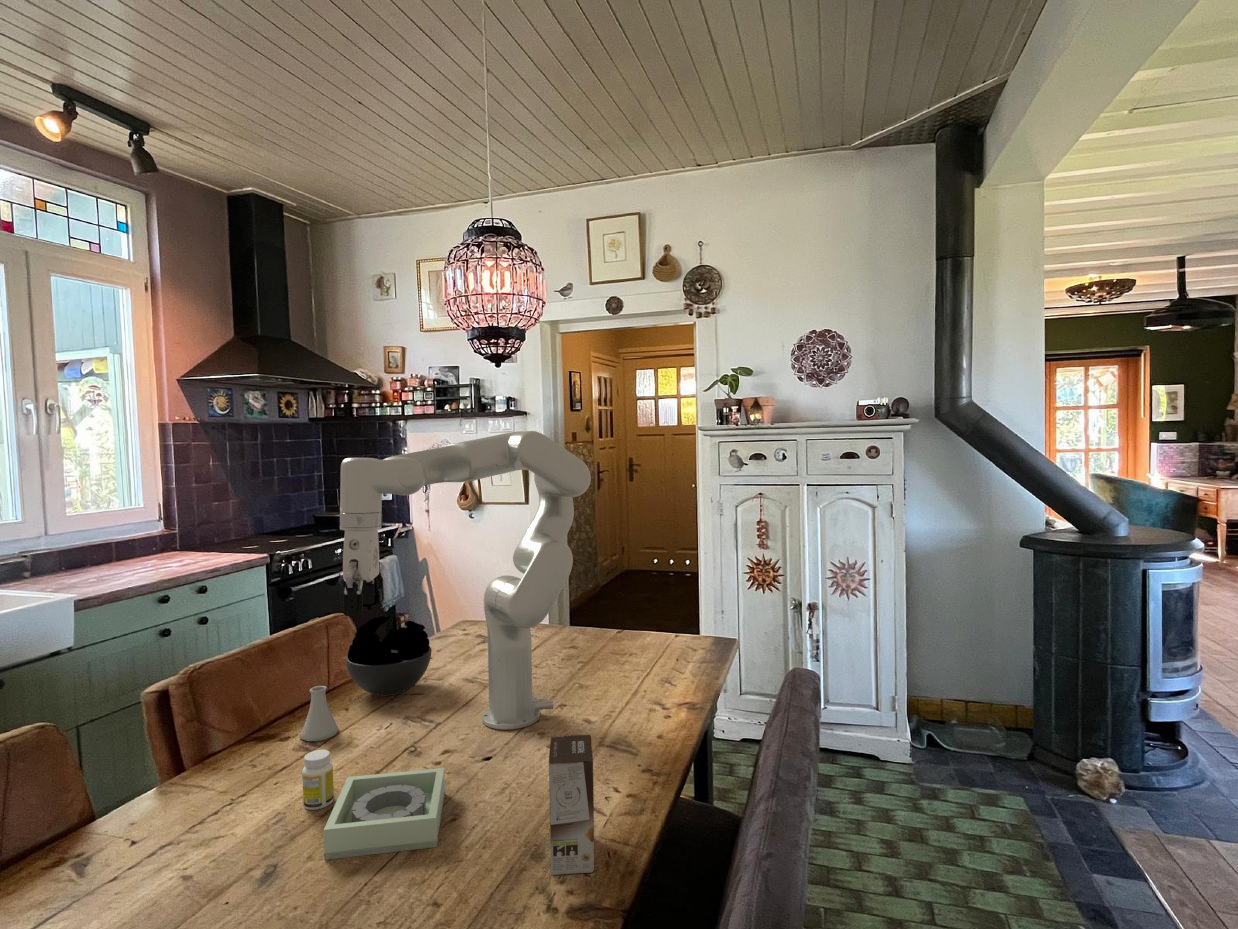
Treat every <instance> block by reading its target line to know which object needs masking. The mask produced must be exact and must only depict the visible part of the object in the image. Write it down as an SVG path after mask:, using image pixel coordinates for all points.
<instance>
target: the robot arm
mask: <svg viewBox="0 0 1238 929" xmlns="http://www.w3.org/2000/svg"><path fill="white" fill-rule="evenodd" d="M515 471H530V472H531V473H533V474H534V475H533V478H534V480H533V481H534V483H535V484H534V485H535V486H536V489H537V492H538V493H537V494H538V498H539V499H538V508H537V511H536V513H535V515H534V517H533V519H532V521H531V522H530V523H529V526H528V527H527V529H526V531H525V533H524V534H523V535H522V538H521V539H520V541H519V542H518V544H517V545H516V547H515V550H514V552H513V556H512V562H513V564H514V565H513V566H514V567H515V568H516V569H517V571H519V572H520V573H522V574H523V575H522V576H521V578H520V577H517V576H514V575H500V576H497V577H496V578H494V579H492V580H491V581H490V582H489V583H488V584H487V587H486V588H485V590H484V595H483V611H484V616H485V622H486V631H487V662H488V663H487V664H488V666H487V668H488V670H487V672H488V708H487V709H486V710H485V711H484V712H483V713H482V715H481V720H482V723H483V724H484V725H485V726H487V727H488V728H491V729H496V730H505V731H506V730H507V731H508V730H517V729H522V728H526V727H528V726H530V725H531V726H532V725H533V724H534V723H536V722H537V721H538V720H539V719H540V717H541V713H540V712H541V711H540V710H554V700H553V699H551V700H550V699H549V700H548V697H541V698H540V697H539V698H537V697H535V695H534V692H533V669H532V668H533V665H532V664H533V661H532V660H533V658H532V657H533V655H532V652H533V651H532V647H533V645H532V642H533V640H532V631H531V629H533V628H535V627H537V626H538V625H540V624H541V622H543V621H544V620H545V618H546V617H547V616H548V614H549V613H550V611H551V610H552V607H553V606H554V604H555V602H556V600H557V599H558V598H559V595H560V593H561V591H562V590H563V588H564V586H565V585H566V583H567V581H568V579H569V577H570V575H571V571H572V569H573V563H574V558H573V553H572V550H571V548H570V546H569V545H568V544H567V542H565V539H566V537H567V535H568V534H569V531H570V529H571V526H572V525H573V522H574V517H575V507H574V506H575V505H574V500H573V498H577V497H579V496H581V495H584V493H585V492H587V490H588V489H589V487H590V485H591V482H592V478H591V477H592V475H591V472H590V468H589V467H588V466H587V464H586V463H585V462H584V461H583V460H582V459H581V458H579V457H578V456H576V455H575V454H574V453H572V452H570V451H569V450H567V449H566V448H564V447H563V446H562V445H560V444H559V443H558V442H556V441H554V440H553V439H551V438H550V437H548V436H547V435H545V434H543V433H541V432H538V431H537V430H525V431H524V430H521V431H510V432H506V433H500V434H496V435H490V436H485V437H482V438H476V439H472V440H465V441H460V442H456V443H450V444H447V445H443V446H440V447H434V448H429V449H424V450H418V451H413V452H412V451H411V452H408V453H403V454H397V455H393V456H389V457H386V458H384V459H378V458H373V457H347V458H344V459H343V460H342V462H341V464H340V496H339V497H340V499H339V504H340V505H339V530H340V531H344V537H343V554H342V577H343V578H342V579H343V581H344V582H345V584H344V591H343V593H344V595H343V598H344V600H343V616H346V617H353V616H354V617H359V616H362V615H363V613H364V612H363V609H364V608H363V607H364V606H363V605H373V604H374V603H375V578H376V577H378V575H379V574H380V544H379V542H380V540H379V530H381V529H382V506H383V505H382V504H383V503H382V502H383V494H389V495H395V496H397V495H398V496H410V495H414V494H416V493H418V492H419V491H420V490H421V489H422V488H423V487H424V486H427V485H428V486H429V485H434V484H443V483H466V482H474V481H478V480H482V479H486V478H490V477H494V476H499V475H502V474H508V473H510V472H511V473H512V472H515Z"/></svg>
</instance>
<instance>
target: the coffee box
mask: <svg viewBox="0 0 1238 929" xmlns="http://www.w3.org/2000/svg"><path fill="white" fill-rule="evenodd" d="M592 744H593V743H592V736H591V734H573V735H571V734H570V735H563V736H551V737H550V742H549V754H548V755H549V756H548V776H549V778H548V779H549V781H548V782H549V787H548V788H549V790H548V792H549V836H550V837H549V839H550V842H549V843H550V875H552V876H554V875H555V876H556V875H557V876H559V875H569V874H570V875H571V874H572V875H573V874H585V873H586V874H587V873H589V874H590V873H593V872H594V870H595V808H594V807H595V806H594V805H595V804H594V803H595V798H594V795H595V794H594V758H593V757H594V756H593V746H592Z"/></svg>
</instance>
